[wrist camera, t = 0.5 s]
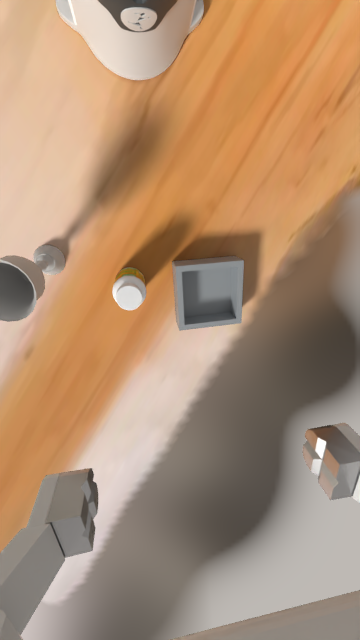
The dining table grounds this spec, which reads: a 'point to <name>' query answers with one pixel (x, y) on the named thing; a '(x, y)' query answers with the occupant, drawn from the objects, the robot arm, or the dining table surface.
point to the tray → (208, 291)
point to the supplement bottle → (129, 288)
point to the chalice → (26, 281)
